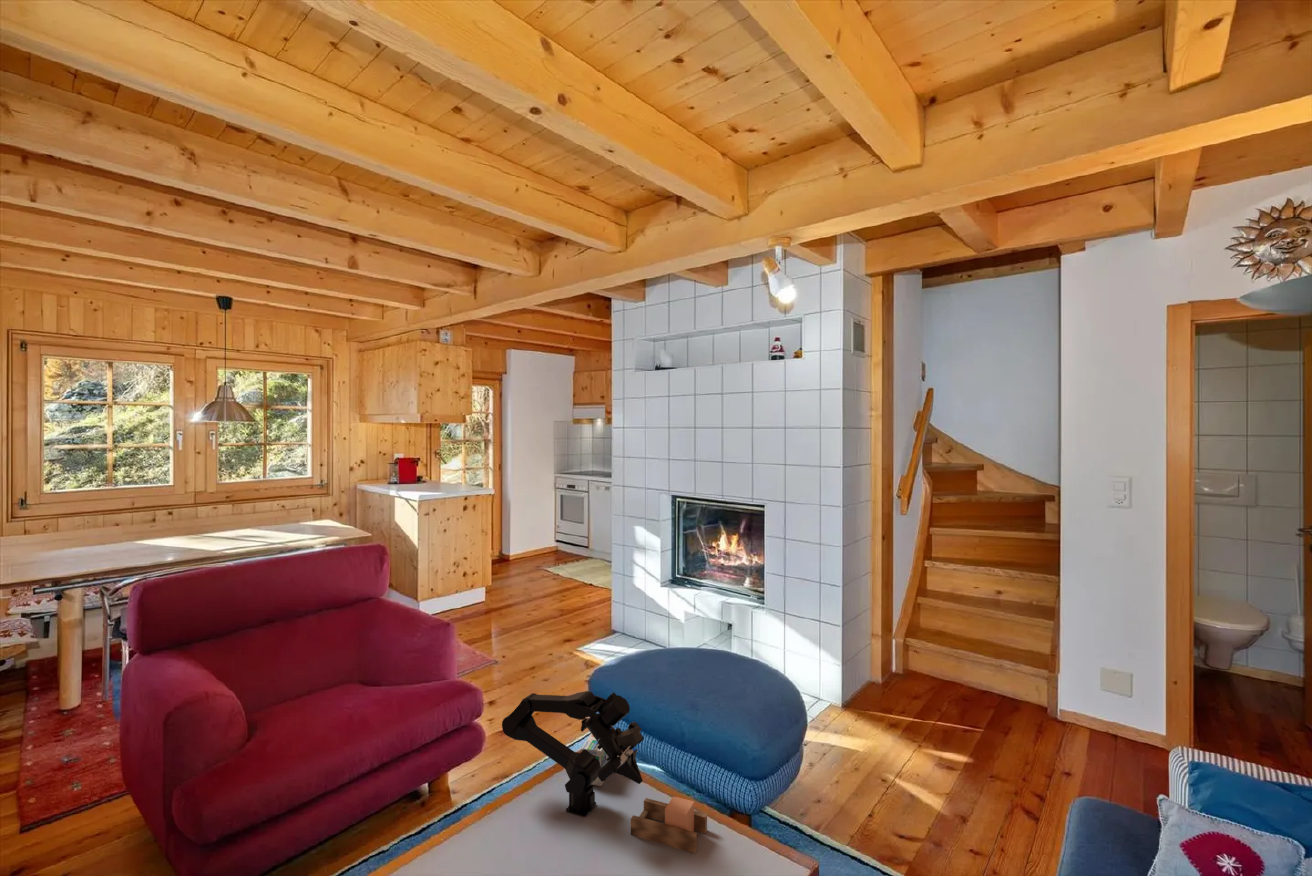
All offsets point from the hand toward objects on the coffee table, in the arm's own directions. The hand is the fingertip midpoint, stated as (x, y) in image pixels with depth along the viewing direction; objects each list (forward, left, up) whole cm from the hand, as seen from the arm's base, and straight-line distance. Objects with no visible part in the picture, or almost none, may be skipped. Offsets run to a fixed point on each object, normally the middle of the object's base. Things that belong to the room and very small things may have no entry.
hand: (641, 782), depth 163 cm
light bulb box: (-23, +16, -12) cm, 30 cm away
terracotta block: (+11, 0, -11) cm, 16 cm away
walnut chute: (+8, 0, -12) cm, 14 cm away
